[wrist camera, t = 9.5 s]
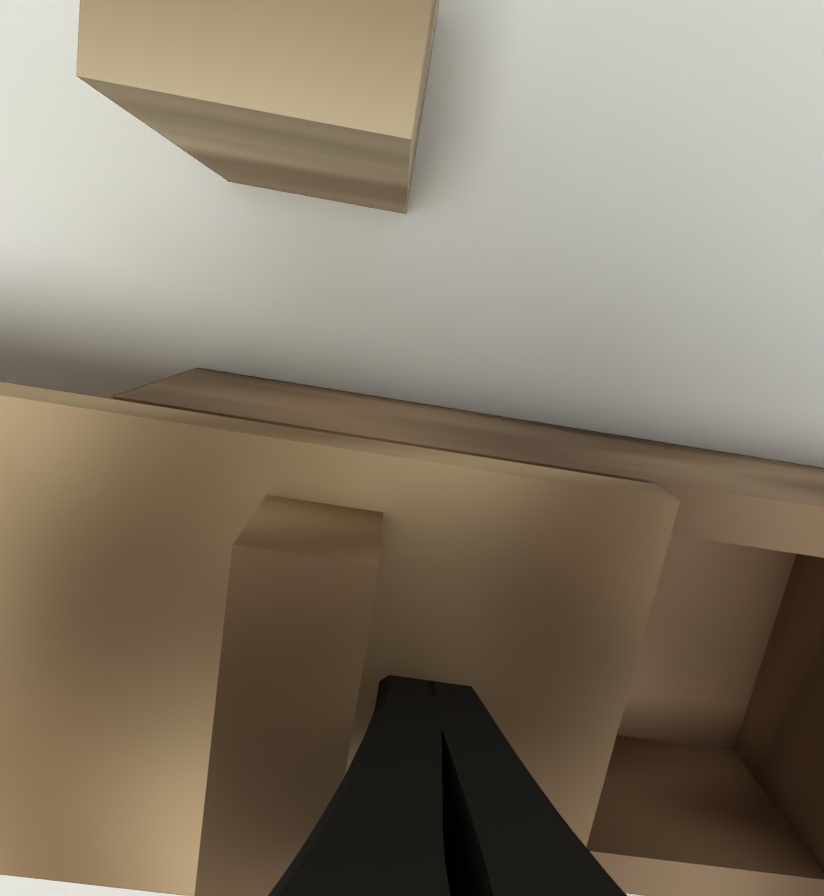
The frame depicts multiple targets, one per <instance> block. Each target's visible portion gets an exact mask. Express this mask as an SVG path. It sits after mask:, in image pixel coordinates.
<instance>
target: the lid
mask: <svg viewBox="0 0 824 896" xmlns="http://www.w3.org/2000/svg"><path fill="white" fill-rule="evenodd" d="M679 504H680V500H678V499H677V498H675V497H674V496H673V495H671V494H670V493H668V492H667V491H666V490H664V489H663V488H661V487H660V486H659V485H657V484H651V483H645V482H638V481H632V480H625V479H619V478H613V477H606V476H600V475H593V474H587V473H581V472H574V471H568V470H562V469H555V468H549V467H542V466H536V465H530V464H523V463H517V462H511V461H504V460H498V459H491V458H485V457H479V456H472V455H466V454H459V453H453V452H447V451H440V450H434V449H428V448H421V447H415V446H408V445H402V444H396V443H389V442H383V441H376V440H370V439H364V438H357V437H351V436H345V435H338V434H332V433H325V432H319V431H313V430H306V429H300V428H293V427H287V426H281V425H274V424H268V423H262V422H255V421H249V420H242V419H236V418H230V417H223V416H217V415H210V414H204V413H198V412H191V411H185V410H179V409H172V408H166V407H159V406H153V405H147V404H140V403H134V402H128V401H121V400H115V399H108V398H102V397H96V396H89V395H83V394H76V393H70V392H64V391H57V390H51V389H45V388H38V387H32V386H25V385H19V384H13V383H6V382H0V874H1V875H10V876H18V877H27V878H36V879H45V880H53V881H62V882H71V883H80V884H88V885H97V886H106V887H115V888H123V889H132V890H141V891H150V892H158V893H167V894H176V895H185V896H268V895H269V894H270V892H271V891H272V889H273V888H274V887H275V885H276V884H277V883H278V881H279V880H280V878H281V877H282V876H283V874H284V873H285V871H286V870H287V868H288V867H289V866H290V864H291V863H292V861H293V860H294V858H295V857H296V855H297V854H298V852H299V851H300V849H301V848H302V846H303V845H304V843H305V842H306V840H307V839H308V837H309V836H310V834H311V832H312V831H313V829H314V828H315V826H316V824H317V822H318V821H319V819H320V817H321V816H322V814H323V812H324V811H325V809H326V807H327V806H328V804H329V802H330V801H331V799H332V797H333V795H334V794H335V792H336V790H337V789H338V787H339V785H340V784H341V782H342V780H343V778H344V776H345V774H346V772H347V770H348V768H349V766H350V764H351V762H352V760H353V758H354V756H355V754H356V752H357V750H358V748H359V746H360V744H361V742H362V740H363V738H364V735H365V733H366V730H367V728H368V725H369V723H370V720H371V718H372V715H373V712H374V709H375V704H376V698H377V692H378V687H379V681H381V680H382V679H384V678H385V677H387V676H388V675H394V676H401V677H408V678H416V679H423V680H430V681H437V682H445V683H452V684H459V685H467V686H472V688H473V689H474V691H475V692H476V693H477V695H478V696H479V698H480V699H481V701H482V702H483V704H484V705H485V707H486V708H487V710H488V711H489V713H490V714H491V716H492V718H493V719H494V721H495V722H496V724H497V725H498V727H499V728H500V730H501V731H502V733H503V734H504V736H505V737H506V739H507V740H508V742H509V743H510V745H511V746H512V748H513V749H514V751H515V752H516V754H517V755H518V757H519V758H520V760H521V761H522V762H523V764H524V765H525V767H526V768H527V770H528V771H529V772H530V774H531V775H532V777H533V778H534V779H535V781H536V782H537V784H538V785H539V786H540V788H541V789H542V790H543V792H544V793H545V795H546V796H547V797H548V799H549V800H550V801H551V803H552V804H553V806H554V807H555V808H556V810H557V811H558V812H559V814H560V815H561V816H562V818H563V819H564V820H565V821H566V823H567V824H568V825H569V827H570V828H571V829H572V830H573V832H574V833H575V834H576V835H577V837H578V838H579V839H580V840H581V841H582V843H583V844H584V845H585V846H587V843H588V839H589V835H590V832H591V828H592V824H593V820H594V817H595V813H596V809H597V806H598V802H599V798H600V795H601V791H602V787H603V784H604V780H605V776H606V773H607V769H608V765H609V762H610V758H611V754H612V751H613V747H614V743H615V740H616V736H617V732H618V728H619V725H620V721H621V717H622V714H623V710H624V706H625V703H626V699H627V695H628V692H629V688H630V684H631V681H632V677H633V673H634V670H635V666H636V662H637V659H638V655H639V651H640V647H641V644H642V640H643V636H644V633H645V629H646V625H647V622H648V618H649V614H650V611H651V607H652V603H653V600H654V596H655V592H656V589H657V585H658V581H659V578H660V574H661V570H662V566H663V563H664V559H665V555H666V552H667V548H668V544H669V541H670V537H671V533H672V530H673V526H674V522H675V519H676V515H677V511H678V508H679Z"/></svg>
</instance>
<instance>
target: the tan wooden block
mask: <svg viewBox="0 0 824 896" xmlns="http://www.w3.org/2000/svg"><path fill="white" fill-rule="evenodd" d="M438 6H439V0H80V11H79V33H78V54H77V77H78V78H80V79H81V80H83V81H84V82H86V83H87V84H89V85H90V86H91V87H93V88H94V89H96V90H97V91H99V92H100V93H102V94H103V95H105V96H106V97H107V98H109V99H110V100H112V101H113V102H115V103H116V104H118V105H119V106H120V107H122V108H123V109H125V110H126V111H128V112H129V113H131V114H132V115H133V116H135V117H136V118H138V119H139V120H141V121H142V122H144V123H145V124H146V125H148V126H149V127H151V128H152V129H154V130H155V131H157V132H158V133H159V134H161V135H162V136H164V137H165V138H167V139H168V140H170V141H171V142H172V143H174V144H175V145H177V146H178V147H180V148H181V149H183V150H184V151H185V152H187V153H188V154H190V155H191V156H193V157H194V158H196V159H197V160H198V161H200V162H201V163H203V164H204V165H206V166H207V167H209V168H210V169H211V170H213V171H214V172H216V173H217V174H219V175H220V176H222V177H223V178H225V179H226V180H227V181H229V182H234V183H239V184H245V185H250V186H256V187H261V188H267V189H272V190H278V191H283V192H289V193H294V194H300V195H305V196H311V197H316V198H322V199H327V200H333V201H338V202H344V203H349V204H354V205H360V206H365V207H371V208H376V209H382V210H387V211H393V212H398V213H404V214H406V210H407V203H408V197H409V191H410V184H411V178H412V172H413V166H414V159H415V153H416V147H417V140H418V134H419V128H420V121H421V115H422V109H423V103H424V96H425V90H426V84H427V77H428V71H429V65H430V59H431V52H432V46H433V40H434V33H435V27H436V21H437V14H438Z"/></svg>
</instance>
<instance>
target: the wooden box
mask: <svg viewBox="0 0 824 896" xmlns="http://www.w3.org/2000/svg"><path fill="white" fill-rule="evenodd" d="M113 399H115V400H121V401H128V402H134V403H140V404H147V405H153V406H159V407H166V408H172V409H179V410H185V411H191V412H198V413H204V414H210V415H217V416H223V417H230V418H236V419H242V420H249V421H255V422H262V423H268V424H274V425H281V426H287V427H293V428H300V429H306V430H313V431H319V432H325V433H332V434H338V435H345V436H351V437H357V438H364V439H370V440H376V441H383V442H389V443H396V444H402V445H408V446H415V447H421V448H428V449H434V450H440V451H447V452H453V453H459V454H466V455H472V456H479V457H485V458H491V459H498V460H504V461H511V462H517V463H523V464H530V465H536V466H542V467H549V468H555V469H562V470H568V471H574V472H581V473H587V474H593V475H600V476H606V477H613V478H619V479H625V480H632V481H638V482H645V483H651V484H657V485H659V486H660V487H661V488H663V489H664V490H666V491H667V492H668V493H670V494H671V495H673V496H674V497H675V498H677V499H678V500H680V504H679V508H678V511H677V515H676V519H675V522H674V526H673V530H672V533H671V537H670V541H669V544H668V548H667V552H666V555H665V559H664V563H663V566H662V570H661V574H660V578H659V581H658V585H657V589H656V592H655V596H654V600H653V603H652V607H651V611H650V614H649V618H648V622H647V625H646V629H645V633H644V636H643V640H642V644H641V647H640V651H639V655H638V659H637V662H636V666H635V670H634V673H633V677H632V681H631V684H630V688H629V692H628V695H627V699H626V703H625V706H624V710H623V714H622V717H621V721H620V725H619V728H618V732H617V736H616V740H615V743H614V747H613V751H612V754H611V758H610V762H609V765H608V769H607V773H606V776H605V780H604V784H603V787H602V791H601V795H600V798H599V802H598V806H597V809H596V813H595V817H594V820H593V824H592V828H591V832H590V835H589V839H588V843H587V846H586V848H587V849H588V850H589V851H590V852H591V854H592V855H593V856H594V857H595V859H596V860H597V861H598V862H599V863H600V865H601V866H602V867H603V868H604V870H605V871H606V872H607V873H608V874H609V876H610V877H611V878H612V879H613V880H614V881H615V882H616V884H617V885H618V886H619V887H620V888H621V889H622V890H623V892H624V893H629V894H637V895H645V896H824V468H819V467H812V466H806V465H800V464H794V463H787V462H781V461H775V460H769V459H763V458H756V457H750V456H744V455H738V454H731V453H725V452H719V451H713V450H707V449H700V448H694V447H688V446H682V445H675V444H669V443H663V442H657V441H650V440H644V439H638V438H632V437H626V436H619V435H613V434H607V433H601V432H594V431H588V430H582V429H576V428H569V427H563V426H557V425H551V424H545V423H538V422H532V421H526V420H520V419H513V418H507V417H501V416H495V415H489V414H482V413H476V412H470V411H464V410H457V409H451V408H445V407H439V406H432V405H426V404H420V403H414V402H408V401H401V400H395V399H389V398H383V397H376V396H370V395H364V394H358V393H352V392H345V391H339V390H333V389H327V388H320V387H314V386H308V385H302V384H295V383H289V382H283V381H277V380H271V379H264V378H258V377H252V376H246V375H239V374H233V373H227V372H221V371H214V370H208V369H202V368H196V369H193V370H190V371H187V372H184V373H181V374H178V375H175V376H172V377H169V378H166V379H163V380H160V381H157V382H154V383H151V384H148V385H145V386H142V387H139V388H136V389H133V390H130V391H127V392H124V393H121V394H118V395H115V396H113Z"/></svg>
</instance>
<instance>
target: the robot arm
mask: <svg viewBox="0 0 824 896" xmlns="http://www.w3.org/2000/svg"><path fill="white" fill-rule="evenodd" d="M268 896H627V895H626V894H625V893H624V892H623V890H622V889H621V888H620V887H619V886H618V885H617V884H616V882H615V881H614V880H613V879H612V878H611V877H610V876H609V874H608V873H607V872H606V871H605V870H604V868H603V867H602V866H601V865H600V863H599V862H598V861H597V860H596V859H595V857H594V856H593V855H592V854H591V852H590V851H589V850H588V849H587V848H586V846H585V845H584V844H583V843H582V841H581V840H580V839H579V838H578V837H577V835H576V834H575V833H574V832H573V830H572V829H571V828H570V827H569V825H568V824H567V823H566V821H565V820H564V819H563V818H562V816H561V815H560V814H559V812H558V811H557V810H556V808H555V807H554V806H553V804H552V803H551V801H550V800H549V799H548V797H547V796H546V795H545V793H544V792H543V790H542V789H541V788H540V786H539V785H538V784H537V782H536V781H535V779H534V778H533V777H532V775H531V774H530V772H529V771H528V770H527V768H526V767H525V765H524V764H523V762H522V761H521V760H520V758H519V757H518V755H517V754H516V752H515V751H514V749H513V748H512V746H511V745H510V743H509V742H508V740H507V739H506V737H505V736H504V734H503V733H502V731H501V730H500V728H499V727H498V725H497V724H496V722H495V721H494V719H493V718H492V716H491V714H490V713H489V711H488V710H487V708H486V707H485V705H484V704H483V702H482V701H481V699H480V698H479V696H478V695H477V693H476V692H475V691H474V689H473V688H472V686H467V685H459V684H452V683H445V682H437V681H430V680H423V679H416V678H408V677H401V676H394V675H388V676H387V677H385V678H384V679H382V680H381V681H379V687H378V692H377V698H376V704H375V709H374V712H373V715H372V718H371V720H370V723H369V725H368V728H367V730H366V733H365V735H364V738H363V740H362V742H361V744H360V746H359V748H358V750H357V752H356V754H355V756H354V758H353V760H352V762H351V764H350V766H349V768H348V770H347V772H346V774H345V776H344V778H343V780H342V782H341V784H340V785H339V787H338V789H337V790H336V792H335V794H334V795H333V797H332V799H331V801H330V802H329V804H328V806H327V807H326V809H325V811H324V812H323V814H322V816H321V817H320V819H319V821H318V822H317V824H316V826H315V828H314V829H313V831H312V832H311V834H310V836H309V837H308V839H307V840H306V842H305V843H304V845H303V846H302V848H301V849H300V851H299V852H298V854H297V855H296V857H295V858H294V860H293V861H292V863H291V864H290V866H289V867H288V868H287V870H286V871H285V873H284V874H283V876H282V877H281V878H280V880H279V881H278V883H277V884H276V885H275V887H274V888H273V889H272V891H271V892H270V894H269V895H268Z"/></svg>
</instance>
